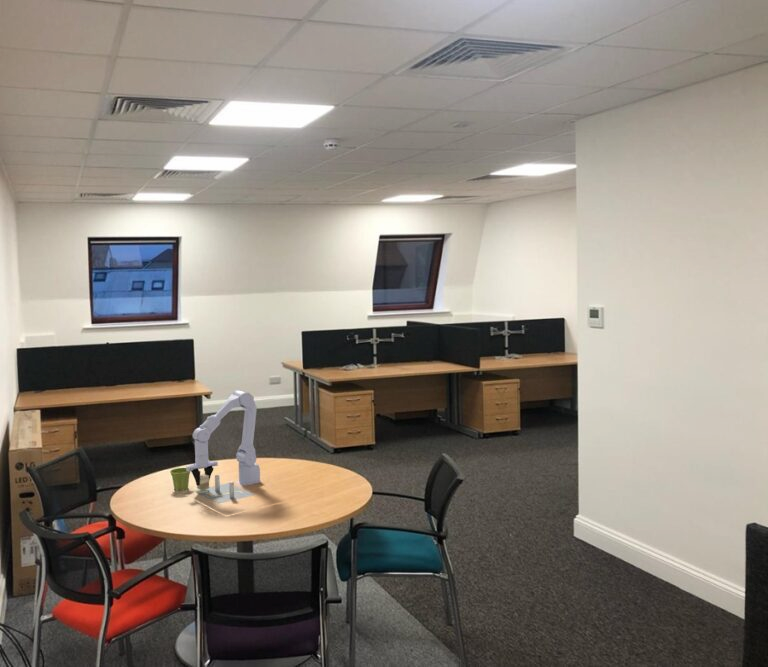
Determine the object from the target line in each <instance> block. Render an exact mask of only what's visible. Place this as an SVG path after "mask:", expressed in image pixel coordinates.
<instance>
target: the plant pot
mask: <svg viewBox="0 0 768 667" xmlns="http://www.w3.org/2000/svg"><path fill="white" fill-rule="evenodd" d="M169 473H170V475H171V477H172V483H173V488H174V490H175V491H178V490H179V491H184V490H187V489H189V482H190V474H191V471H189V472H188V471H186V467H177V468H173V469H170V471H169Z"/></svg>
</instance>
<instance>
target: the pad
mask: <svg viewBox="0 0 768 667" xmlns="http://www.w3.org/2000/svg"><path fill="white" fill-rule="evenodd" d="M195 490H196V492H195V493H197V494H199V493H206V492H209V491H210V489H204V490H200V489H198V488H197V489H195Z"/></svg>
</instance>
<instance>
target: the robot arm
mask: <svg viewBox="0 0 768 667" xmlns="http://www.w3.org/2000/svg"><path fill="white" fill-rule="evenodd" d="M254 398H255V397H254V396H253V395H252V394H251V393H250V392H246V391H242V390H239V389H237V390H235V391H233V393H232V394H231V395H229V396H228V398H227V400H226V401H225V402H224V404H222V406H220V408H219V409H218V411H217V412H216V413H214V414H212V415H210V416H207V418H206V420H205V421H204V422H203V423H202V424H200V425H199V427H197V428H196V429H194V431H193V433H191V434H192V439H194V454H195V455H194V456H195V458H194V459H195V461H194V462H195V464H191V465H188V466H185V468H186V471H188V472H189V471H190V473H191V474H192V476H193V478H194V481H195V484H196V486H197V485H198V486H199V485H200V474H201V471H200V470H201V469H203V470H204V474H207V475H209V481H210V479H211V476H212V474H213V472H214V467H218V466H219V465H218V461H216V460H213V461H209V442H208V441H209V440H210V437H211V435H212V433H213V432H214V431H215V430H216V429H217V428H218V426H220V425H221V420H222V419H223V418H224V417H225V416H227V415H228V413H230V411H231V410H233V409H236V408H241V409H242V410H243V411H244V414H243V415H244V416H243V426H242V434H241V435H242V436H241V444H240V445H239V446H238V448H237V450H238V451H237V452H236V455H235V458H236V461H237V462H238V481H235V484H239V485H241V486H249V485H254V484H257V483H261V469H260V465H259V463H256V462H257V459H258V458H257V455H256V454H257V453H256V449H255V446H254V438H255V430H256V419H257V411H258V410H257V409H258V408H257V404H256V402H255V399H254Z"/></svg>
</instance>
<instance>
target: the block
mask: <svg viewBox="0 0 768 667" xmlns="http://www.w3.org/2000/svg"><path fill="white" fill-rule="evenodd" d="M209 487H210V480H209V475H207V474H205V473H200V485H199V486H198V485H196V488H197V489H200V490H204V489H209Z"/></svg>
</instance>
